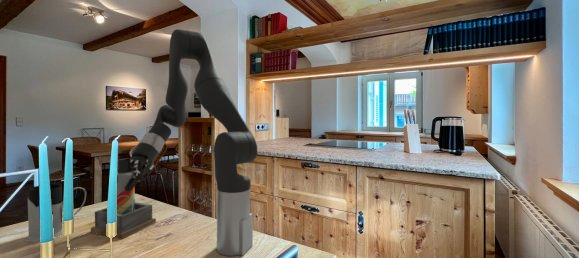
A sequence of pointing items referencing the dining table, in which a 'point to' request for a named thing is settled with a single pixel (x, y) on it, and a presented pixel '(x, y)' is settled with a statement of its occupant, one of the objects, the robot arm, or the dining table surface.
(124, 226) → the dark grey open box
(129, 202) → the lotion bottle
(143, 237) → the dining table surface
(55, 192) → the grey mug
